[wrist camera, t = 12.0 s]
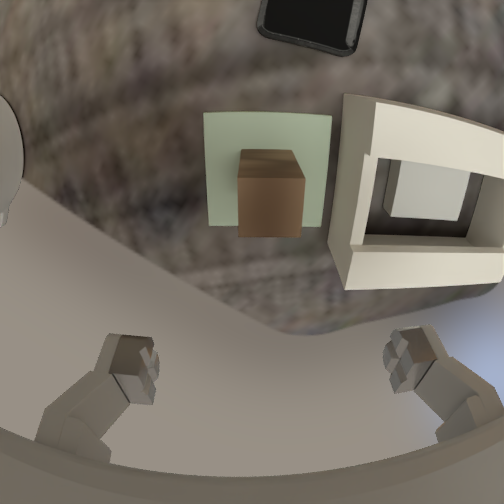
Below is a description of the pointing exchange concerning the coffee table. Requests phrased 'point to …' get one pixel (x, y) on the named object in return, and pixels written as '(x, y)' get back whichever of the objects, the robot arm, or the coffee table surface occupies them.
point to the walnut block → (270, 193)
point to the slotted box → (416, 196)
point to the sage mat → (264, 137)
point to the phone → (314, 23)
